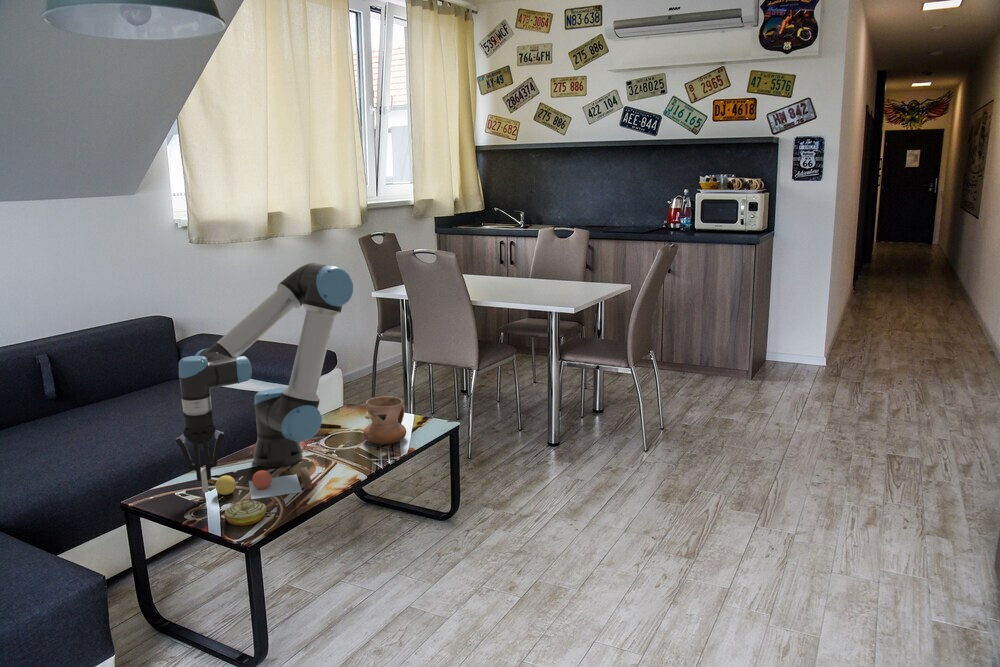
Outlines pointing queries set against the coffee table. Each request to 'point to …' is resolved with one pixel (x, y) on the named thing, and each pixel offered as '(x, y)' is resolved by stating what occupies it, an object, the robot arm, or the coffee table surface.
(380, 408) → the ceramic jug
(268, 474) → the object ball
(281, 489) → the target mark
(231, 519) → the decorated donut
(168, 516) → the coffee table surface
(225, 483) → the yellow ball
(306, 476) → the stopper strip
